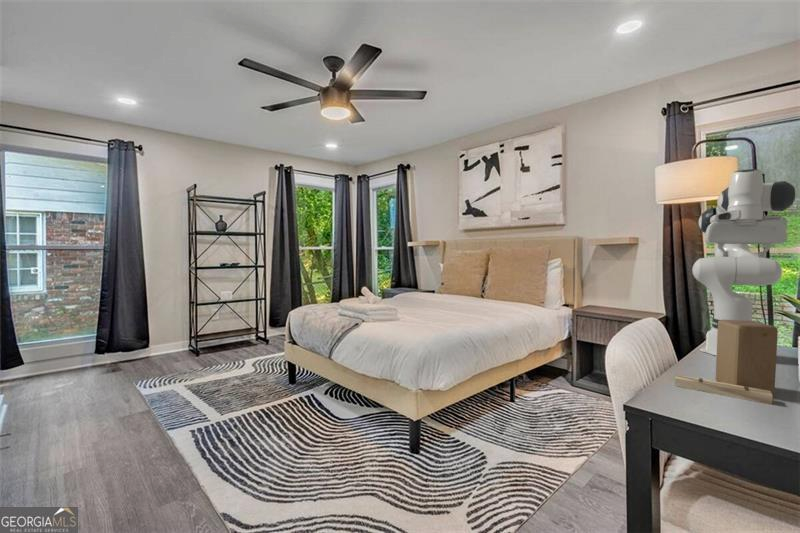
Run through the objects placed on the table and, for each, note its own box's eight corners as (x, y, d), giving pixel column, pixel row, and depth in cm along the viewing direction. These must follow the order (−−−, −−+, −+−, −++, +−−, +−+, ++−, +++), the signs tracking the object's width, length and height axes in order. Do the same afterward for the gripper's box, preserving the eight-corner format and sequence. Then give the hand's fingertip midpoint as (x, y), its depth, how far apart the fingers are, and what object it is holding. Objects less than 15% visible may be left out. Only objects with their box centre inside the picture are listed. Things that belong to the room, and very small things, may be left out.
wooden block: (776, 396, 105) (780, 326, 104) (735, 393, 107) (738, 325, 106) (750, 383, 114) (753, 320, 113) (713, 381, 116) (716, 318, 115)
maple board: (675, 382, 115) (676, 374, 115) (770, 399, 102) (770, 390, 102) (674, 385, 112) (675, 377, 112) (772, 404, 99) (772, 395, 99)
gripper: (783, 217, 121) (782, 258, 121) (704, 218, 132) (703, 257, 131) (791, 213, 116) (790, 257, 115) (708, 215, 126) (706, 255, 126)
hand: (743, 257), depth 123 cm, fingers open, 8 cm apart
